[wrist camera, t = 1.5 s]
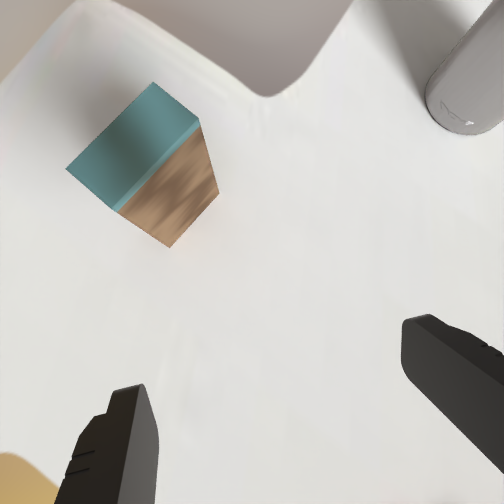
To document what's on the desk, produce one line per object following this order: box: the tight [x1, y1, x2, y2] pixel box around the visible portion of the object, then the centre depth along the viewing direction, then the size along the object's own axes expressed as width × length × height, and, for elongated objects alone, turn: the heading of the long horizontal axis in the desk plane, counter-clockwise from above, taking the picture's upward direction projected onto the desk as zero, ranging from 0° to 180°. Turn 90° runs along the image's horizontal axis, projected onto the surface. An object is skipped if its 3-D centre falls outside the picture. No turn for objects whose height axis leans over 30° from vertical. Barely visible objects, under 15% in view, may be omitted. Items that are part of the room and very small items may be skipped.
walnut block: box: [65, 82, 219, 248], centre depth 26 cm, size 8×4×14 cm, turn 140°
